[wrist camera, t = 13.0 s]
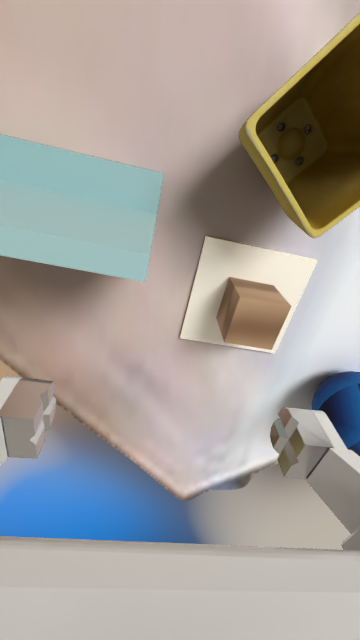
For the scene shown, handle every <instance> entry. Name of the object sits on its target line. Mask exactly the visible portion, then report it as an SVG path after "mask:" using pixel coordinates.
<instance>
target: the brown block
mask: <svg viewBox="0 0 360 640" xmlns="http://www.w3.org/2000/svg"><path fill="white" fill-rule="evenodd" d="M290 309H291V305H290V304H289V303H288V302H287V300H286V299H285V298H284V297H283V296H282V295H281V293H280V292H279V291H278V290H277V289H276V288H275V286H274V285H269V284H264V283H259V282H254V281H248V280H243V279H238V278H233V277H229V279H228V282H227V285H226V289H225V292H224V295H223V298H222V301H221V304H220V308H219V311H218V314H217V317H216V318H217V321H218V325H219V328H220V331H221V334H222V337H223V340H224V342H225V343H231V344H237V345H243V346H250V347H256V348H262V349H268V350H272V348H273V346H274V344H275V342H276V339H277V337H278V335H279V333H280V331H281V328H282V326H283V324H284V322H285V320H286V317H287V315H288V313H289V311H290Z"/></svg>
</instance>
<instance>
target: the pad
mask: <svg viewBox="0 0 360 640" xmlns="http://www.w3.org/2000/svg"><path fill="white" fill-rule="evenodd" d="M317 262H318V260H316V259H312V258H307V257H303V256H298V255H293V254H288V253H284V252H279V251H274V250H270V249H265V248H260V247H256V246H251V245H246V244H242V243H237V242H232V241H228V240H223V239H218V238H214V237H209V236H205V240H204V244H203V248H202V252H201V256H200V259H199V263H198V267H197V271H196V275H195V279H194V283H193V287H192V291H191V295H190V299H189V303H188V306H187V310H186V314H185V318H184V322H183V326H182V330H181V334H180V338H181V339H187V340H194V341H200V342H206V343H213V344H219V345H225V346H231V347H238V348H244V349H250V350H257V351H263V352H269V353H275V352H276V350H277V348H278V346H279V343H280V341H281V339H282V337H283V335H284V333H285V330H286V328H287V326H288V324H289V322H290V320H291V318H292V315H293V313H294V311H295V309H296V307H297V305H298V302H299V300H300V298H301V296H302V294H303V292H304V290H305V287H306V285H307V283H308V281H309V279H310V277H311V274H312V272H313V270H314V268H315V266H316V264H317ZM229 277H233V278H238V279H243V280H248V281H254V282H259V283H264V284H269V285H274V286H275V288H276V289H277V290H278V291H279V292H280V293H281V295H282V296H283V297H284V298H285V299H286V300H287V302H288V303H289V304H290V305H291V309H290V311H289V313H288V315H287V317H286V320H285V322H284V324H283V326H282V328H281V331H280V333H279V335H278V337H277V339H276V342H275V344H274V346H273V348H272V350H268V349H262V348H256V347H250V346H243V345H237V344H231V343H225V342H224V340H223V337H222V334H221V331H220V328H219V325H218V321H217V318H216V317H217V314H218V311H219V308H220V304H221V301H222V298H223V295H224V292H225V289H226V285H227V282H228V279H229Z"/></svg>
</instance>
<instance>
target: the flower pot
mask: <svg viewBox="0 0 360 640" xmlns="http://www.w3.org/2000/svg"><path fill="white" fill-rule="evenodd" d="M280 123H283V124H284V129H283V130H282V131H279V130H278V125H279V124H280ZM306 126H310V132H309V133H308V134H306V133H305V132H304V128H305V127H306ZM239 139H240V141H241V143H242V145H243V146H244V148H245V149H246V151H247V152H248V154H249V155H250V157H251V158H252V160H253V162H254V163H255V165H256V166H257V168H258V169H259V171H260V172H261V174H262V176H263V177H264V179H265V180H266V182H267V184H268V185H269V187H270V189H271V190H272V192H273V194H274V195H275V197H276V199H277V200H278V202H279V204H280V205H281V207H282V209H283V210H284V212H285V213H286V215H287V216H288V217H289V218H290V219H291V220H292V221H293V222H294V223H295V224H296V225H297V226H299V227H300V228H301V229H302V230H303V231H304V232H305V233H306V234H307V235H309V236H310V237H312V238H317V237H319V236H321V235H322V234H324V233H325V232H326V231H328V230H329V229H331V228H332V227H333V226H335V225H336V224H337V223H339V222H340V221H341V220H342V219H344V218H345V217H346V216H348V215H349V214H350V213H352V212H353V211H355V210H356V209H357V208H358V207H360V13H359V14H358V15H357V16H355V17H354V18H353V19H352V20H351V21H350V22H349V23H348V24H347V25H346V26H345V27H344V28H343V29H342V30H341V31H340V32H339V33H338V34H337V35H336V36H335V37H334V38H333V39H331V40H330V41H329V42H328V43H327V44H326V45H325V46H324V47H323V48H322V49H321V50H320V51H319V52H318V53H317V54H316V55H315V56H314V57H313V58H311V59H310V60H309V61H308V62H307V63H306V64H305V65H304V66H303V67H302V68H301V69H300V70H299V71H298V72H297V73H296V74H294V75H293V76H292V77H291V78H290V79H289V80H288V81H287V82H286V83H285V84H284V85H283V86H282V87H281V88H280V89H279V90H278V91H276V92H275V93H274V94H273V95H272V96H271V97H270V98H269V99H268V100H267V101H266V102H265V103H264V104H263V105H262V106H261V107H259V108H258V109H257V110H256V111H255V112H254V113H253V114H252V115H251V116H250V117H249V118H248V120H247V121H246V122H245V123H244V125H243V126H242V128H241V129H240V131H239ZM273 155H277V160H276V161H275V162H273V161H272V159H271V157H272V156H273ZM299 157H302V159H303V161H302V163H301V164H297V159H298V158H299Z"/></svg>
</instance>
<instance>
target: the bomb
mask: <svg viewBox="0 0 360 640" xmlns="http://www.w3.org/2000/svg"><path fill="white" fill-rule="evenodd" d="M312 410H318V411H323V412H324V413H325V414H326V415H327V417H328V418H329V420H330V421H331V423H332V425H333V426H334V428H335V430H336V431H337V433H338V434H339V436H340V438H341V439H342V441H343V443H344V444H345V446H346V447H347V449H348V450H352V451H353V452H355V453H356V454H357V455H358V456H360V372H352V371H349V372H342V373H338V374H335V375H333V376H330V377H329V378H327V379H326V380H325V381H323V382H322V383H321V385H320V386H319V387H318V388H317V390H316V392H315V394H314V397H313V401H312Z"/></svg>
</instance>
